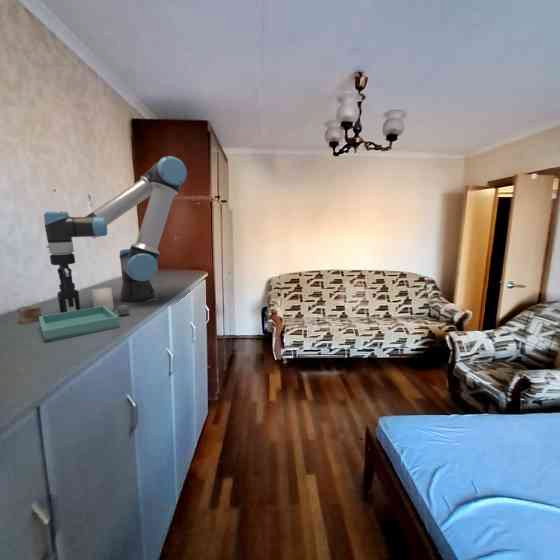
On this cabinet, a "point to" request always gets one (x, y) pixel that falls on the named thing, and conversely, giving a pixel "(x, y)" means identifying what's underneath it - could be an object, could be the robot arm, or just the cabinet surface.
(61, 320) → the tray
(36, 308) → the walnut block
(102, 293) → the cream round piece
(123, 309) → the grey egg
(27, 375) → the cabinet surface
